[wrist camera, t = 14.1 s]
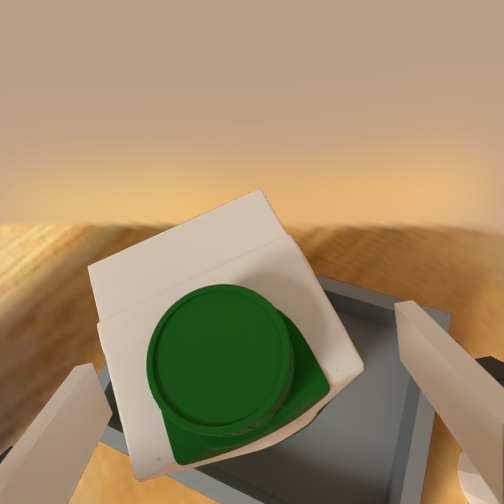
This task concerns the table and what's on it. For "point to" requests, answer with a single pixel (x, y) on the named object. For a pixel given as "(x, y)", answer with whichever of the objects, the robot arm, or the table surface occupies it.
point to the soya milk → (217, 339)
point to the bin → (333, 426)
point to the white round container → (473, 483)
